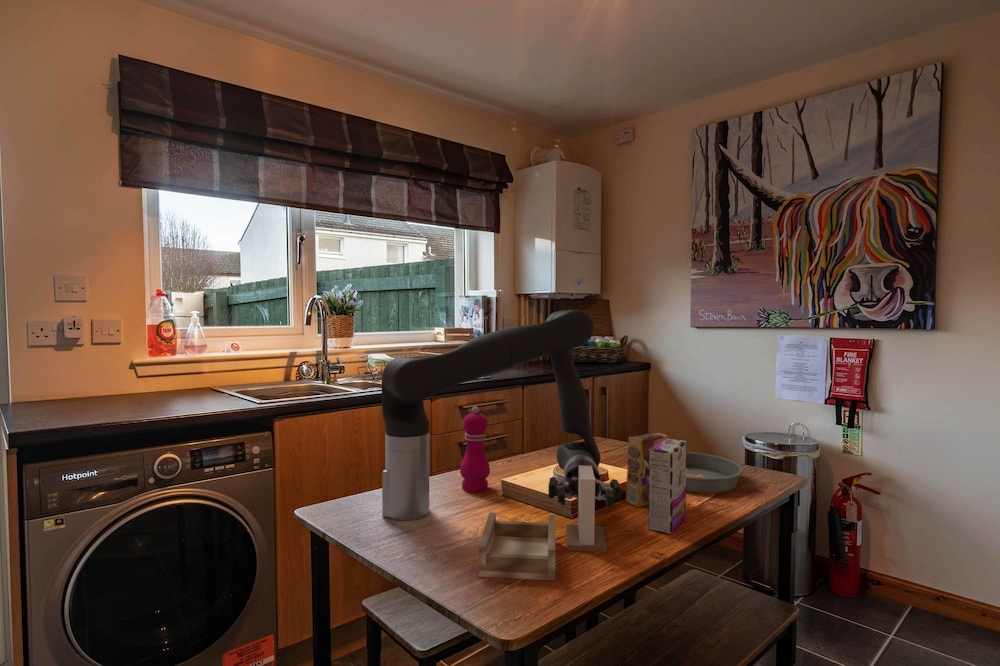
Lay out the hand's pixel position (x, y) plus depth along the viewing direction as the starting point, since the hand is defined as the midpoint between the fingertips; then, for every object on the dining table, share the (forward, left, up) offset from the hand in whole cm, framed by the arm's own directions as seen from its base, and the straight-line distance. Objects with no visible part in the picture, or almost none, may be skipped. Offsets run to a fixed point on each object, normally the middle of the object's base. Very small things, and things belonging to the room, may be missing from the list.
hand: (586, 501), depth 106 cm
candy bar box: (+17, +10, -8) cm, 21 cm away
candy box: (+15, +23, -8) cm, 29 cm away
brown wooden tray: (-12, -9, -8) cm, 17 cm away
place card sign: (0, 0, -8) cm, 8 cm away
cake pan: (+29, +42, -8) cm, 52 cm away
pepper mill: (-25, +28, -8) cm, 39 cm away
